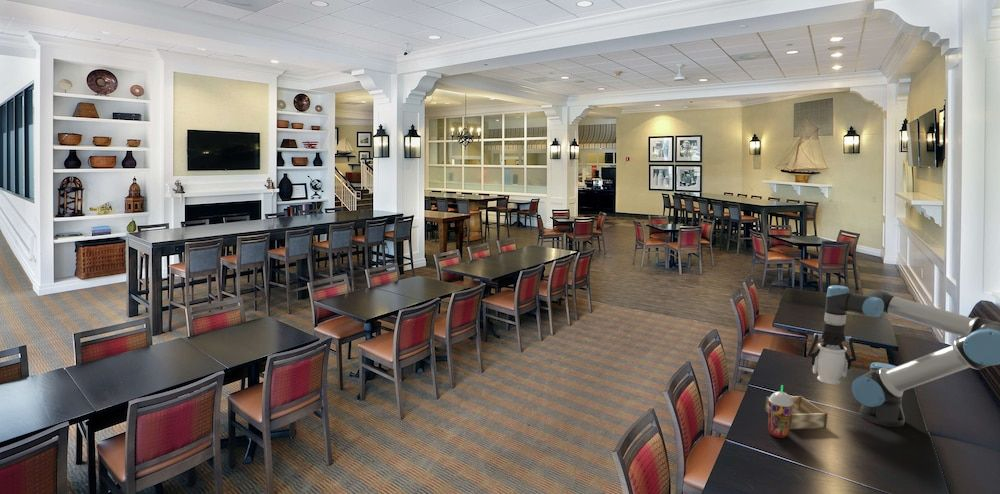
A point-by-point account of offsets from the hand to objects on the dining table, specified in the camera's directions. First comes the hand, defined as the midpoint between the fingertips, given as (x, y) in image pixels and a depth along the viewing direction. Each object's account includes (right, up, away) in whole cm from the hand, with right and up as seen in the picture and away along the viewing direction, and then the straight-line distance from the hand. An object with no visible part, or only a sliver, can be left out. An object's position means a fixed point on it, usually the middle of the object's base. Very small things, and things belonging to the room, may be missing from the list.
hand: (829, 374), depth 226 cm
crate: (-16, -18, -4) cm, 24 cm away
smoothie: (-30, -20, -16) cm, 40 cm away
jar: (0, -3, 0) cm, 3 cm away
